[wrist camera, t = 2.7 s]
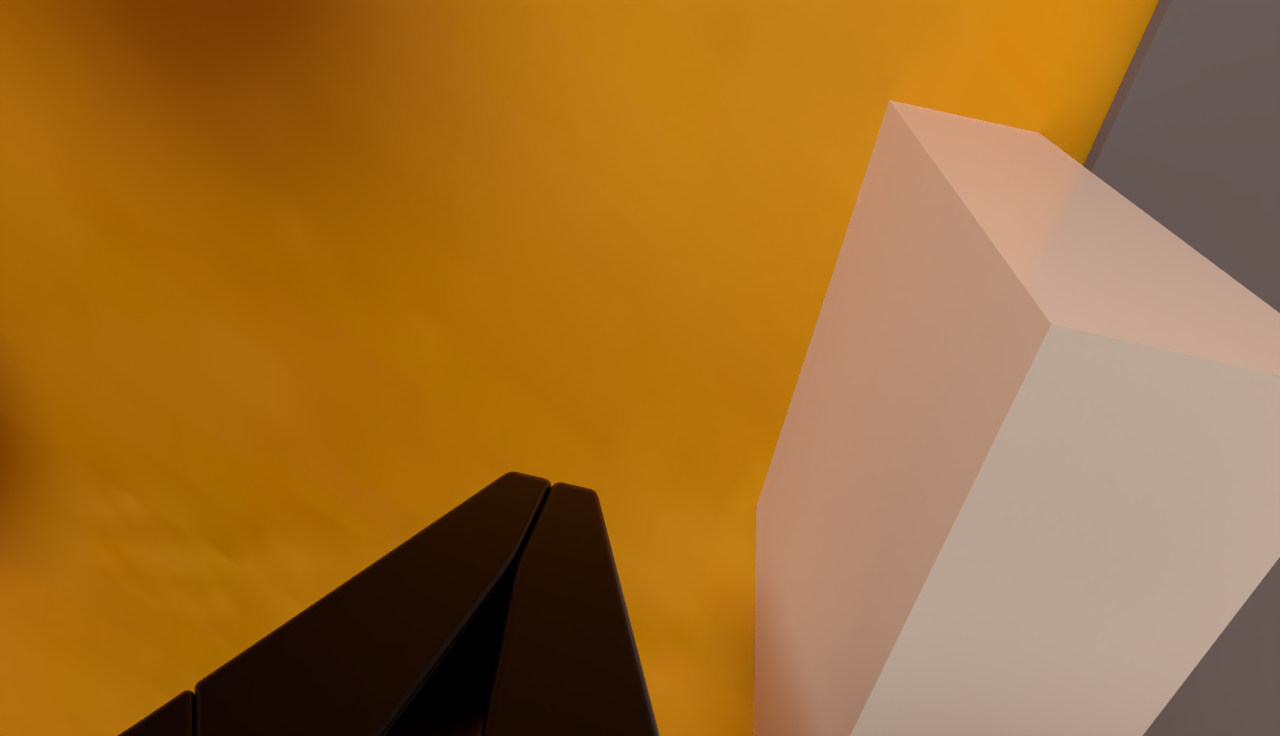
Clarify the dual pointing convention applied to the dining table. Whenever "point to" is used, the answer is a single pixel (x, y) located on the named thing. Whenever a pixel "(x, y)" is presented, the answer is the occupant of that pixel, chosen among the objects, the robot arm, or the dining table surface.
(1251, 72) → the mat
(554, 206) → the dining table surface
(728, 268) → the dining table surface
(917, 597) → the block
